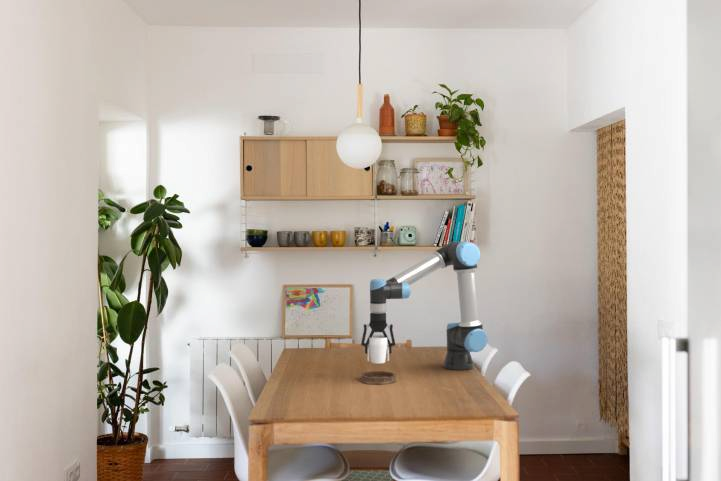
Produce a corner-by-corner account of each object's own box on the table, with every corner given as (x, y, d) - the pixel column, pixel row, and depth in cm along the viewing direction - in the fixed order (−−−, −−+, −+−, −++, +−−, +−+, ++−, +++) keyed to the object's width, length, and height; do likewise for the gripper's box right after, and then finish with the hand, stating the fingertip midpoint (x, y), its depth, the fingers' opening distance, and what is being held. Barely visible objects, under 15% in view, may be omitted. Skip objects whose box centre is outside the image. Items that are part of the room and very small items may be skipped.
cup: (386, 364, 308) (386, 338, 308) (366, 363, 310) (366, 337, 310) (389, 360, 317) (389, 335, 317) (370, 360, 319) (370, 335, 318)
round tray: (395, 376, 322) (395, 370, 322) (397, 384, 305) (397, 378, 305) (360, 376, 322) (360, 371, 322) (360, 384, 305) (360, 378, 305)
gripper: (400, 311, 317) (400, 358, 317) (355, 311, 317) (355, 359, 317) (401, 313, 309) (401, 361, 310) (355, 313, 309) (355, 362, 309)
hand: (378, 360), depth 313 cm, fingers closed on cup, 9 cm apart
